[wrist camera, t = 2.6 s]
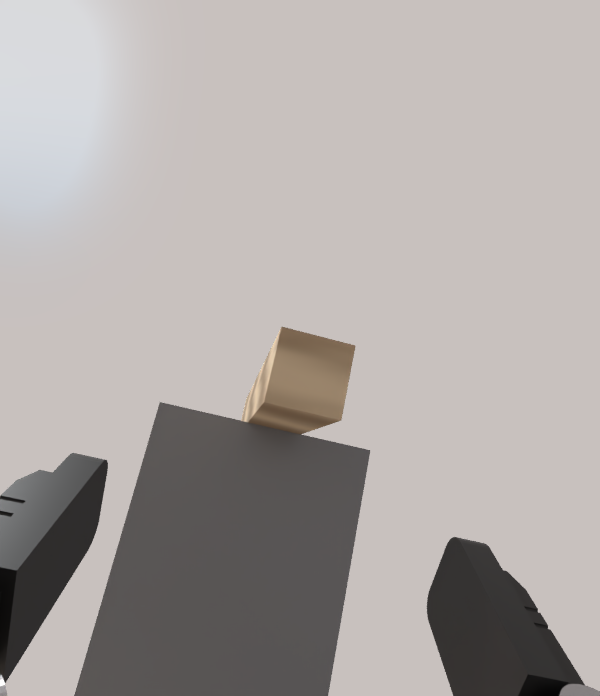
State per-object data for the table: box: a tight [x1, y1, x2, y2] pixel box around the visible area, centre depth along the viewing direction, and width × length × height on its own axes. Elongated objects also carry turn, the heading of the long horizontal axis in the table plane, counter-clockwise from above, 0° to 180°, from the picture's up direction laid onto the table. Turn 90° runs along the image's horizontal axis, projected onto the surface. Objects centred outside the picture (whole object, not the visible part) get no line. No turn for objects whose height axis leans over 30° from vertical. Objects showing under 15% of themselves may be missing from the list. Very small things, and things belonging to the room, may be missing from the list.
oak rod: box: [241, 327, 355, 434], centre depth 29 cm, size 22×3×3 cm, turn 10°
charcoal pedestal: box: [74, 403, 370, 696], centre depth 30 cm, size 15×13×32 cm
